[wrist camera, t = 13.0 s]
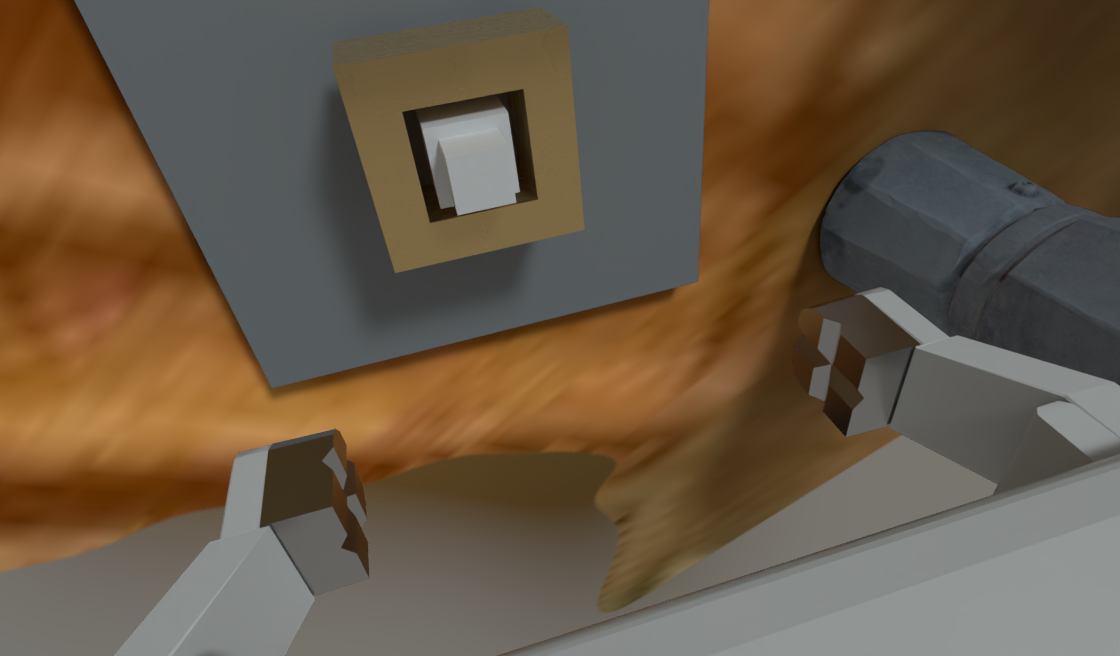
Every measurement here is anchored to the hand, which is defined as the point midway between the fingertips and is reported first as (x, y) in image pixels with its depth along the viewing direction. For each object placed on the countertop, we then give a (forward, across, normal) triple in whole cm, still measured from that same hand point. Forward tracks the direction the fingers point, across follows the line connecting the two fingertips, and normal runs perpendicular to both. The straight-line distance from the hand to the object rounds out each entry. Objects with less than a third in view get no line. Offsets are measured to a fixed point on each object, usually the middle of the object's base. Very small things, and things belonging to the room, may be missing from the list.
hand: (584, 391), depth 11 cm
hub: (+17, 0, 0) cm, 17 cm away
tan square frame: (+14, 0, 0) cm, 14 cm away
